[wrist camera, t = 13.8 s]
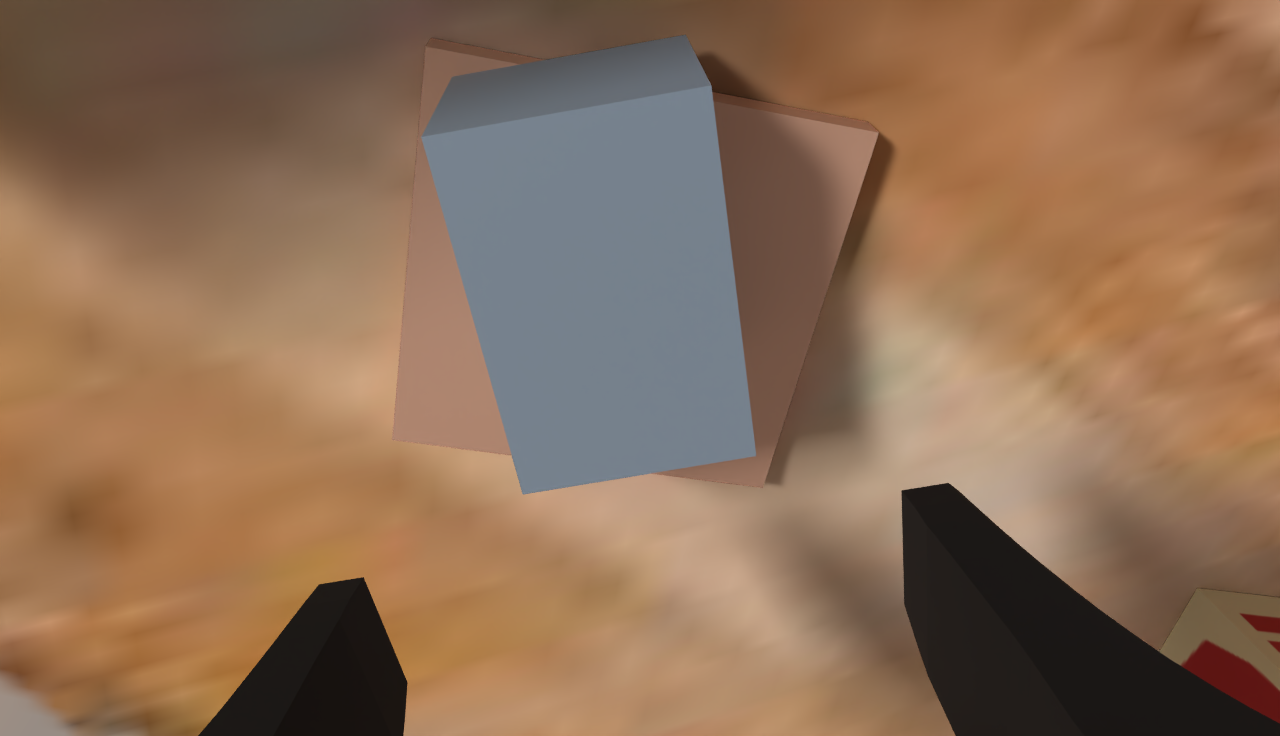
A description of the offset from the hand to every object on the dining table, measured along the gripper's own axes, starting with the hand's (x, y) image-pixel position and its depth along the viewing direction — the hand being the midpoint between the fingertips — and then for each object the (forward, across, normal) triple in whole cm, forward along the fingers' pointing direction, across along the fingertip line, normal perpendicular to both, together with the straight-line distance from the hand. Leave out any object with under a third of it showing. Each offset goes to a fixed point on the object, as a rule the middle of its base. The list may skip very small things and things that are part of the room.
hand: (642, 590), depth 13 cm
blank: (+9, 0, -2) cm, 9 cm away
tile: (+10, 0, 0) cm, 10 cm away
